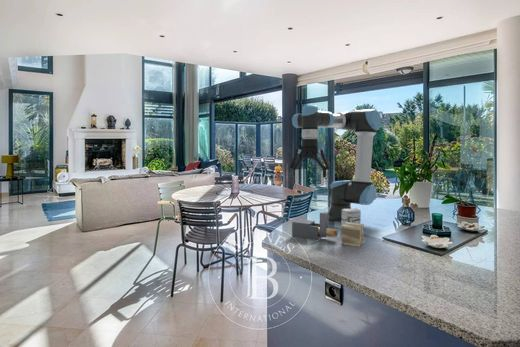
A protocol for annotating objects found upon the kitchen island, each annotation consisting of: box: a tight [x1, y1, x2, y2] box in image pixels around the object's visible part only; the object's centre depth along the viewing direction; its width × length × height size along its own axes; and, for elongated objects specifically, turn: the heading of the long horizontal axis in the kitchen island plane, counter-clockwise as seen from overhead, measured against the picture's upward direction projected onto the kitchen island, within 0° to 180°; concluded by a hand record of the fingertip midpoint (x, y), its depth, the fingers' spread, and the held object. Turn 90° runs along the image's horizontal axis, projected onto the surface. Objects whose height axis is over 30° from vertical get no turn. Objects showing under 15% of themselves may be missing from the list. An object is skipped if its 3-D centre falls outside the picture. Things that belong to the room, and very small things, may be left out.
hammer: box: [318, 210, 339, 239], centre depth 160 cm, size 4×18×12 cm, turn 61°
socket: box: [341, 222, 365, 248], centre depth 152 cm, size 8×8×8 cm
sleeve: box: [291, 218, 322, 241], centre depth 163 cm, size 7×13×8 cm, turn 61°
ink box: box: [340, 208, 362, 232], centre depth 171 cm, size 9×5×12 cm, turn 103°
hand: (309, 183), depth 160 cm, fingers open, 12 cm apart
